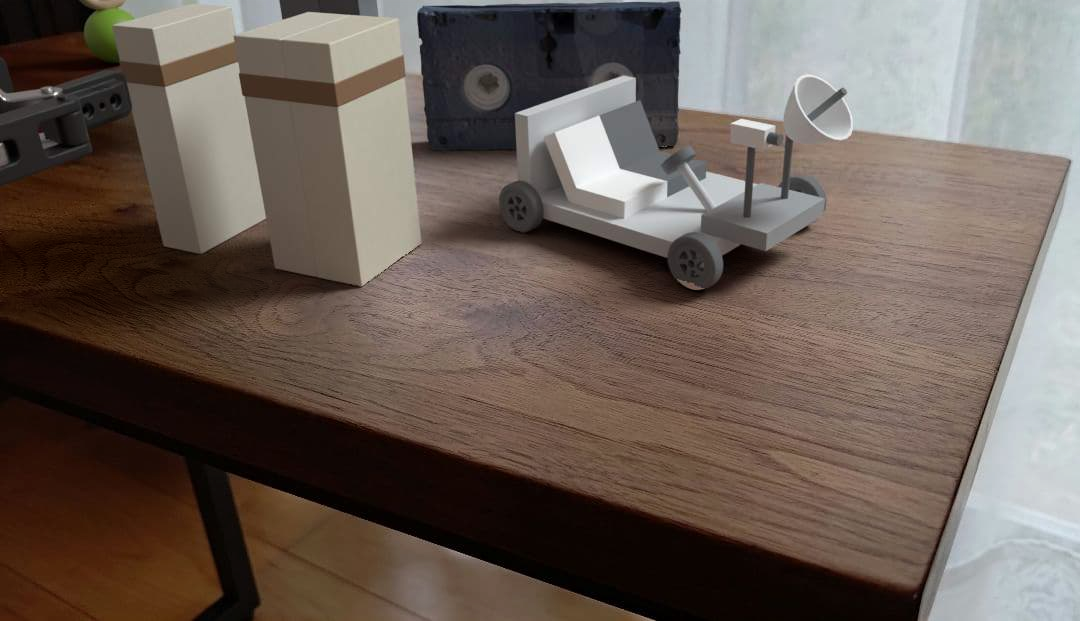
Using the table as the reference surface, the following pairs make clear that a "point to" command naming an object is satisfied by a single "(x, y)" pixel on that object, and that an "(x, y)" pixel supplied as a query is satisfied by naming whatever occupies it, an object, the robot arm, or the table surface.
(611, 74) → the vhs cassette tape
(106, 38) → the snail figurine
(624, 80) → the toy car
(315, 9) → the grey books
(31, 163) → the robot arm
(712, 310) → the table surface
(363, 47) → the cream brown-striped block
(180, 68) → the cream rectangular block
